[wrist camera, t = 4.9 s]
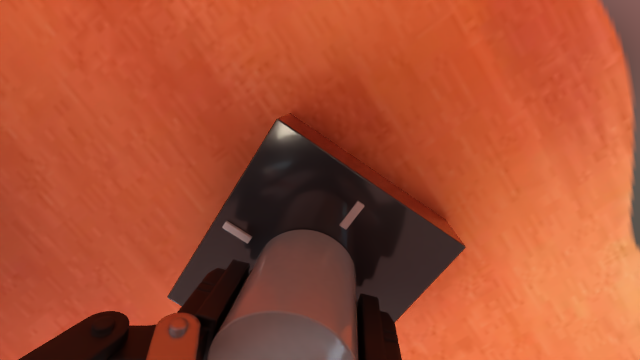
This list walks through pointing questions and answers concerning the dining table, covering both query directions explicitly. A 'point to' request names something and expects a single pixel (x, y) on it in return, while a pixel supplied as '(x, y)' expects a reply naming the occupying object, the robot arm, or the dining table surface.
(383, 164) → the dining table surface
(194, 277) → the hob panel
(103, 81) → the dining table surface
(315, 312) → the dial
